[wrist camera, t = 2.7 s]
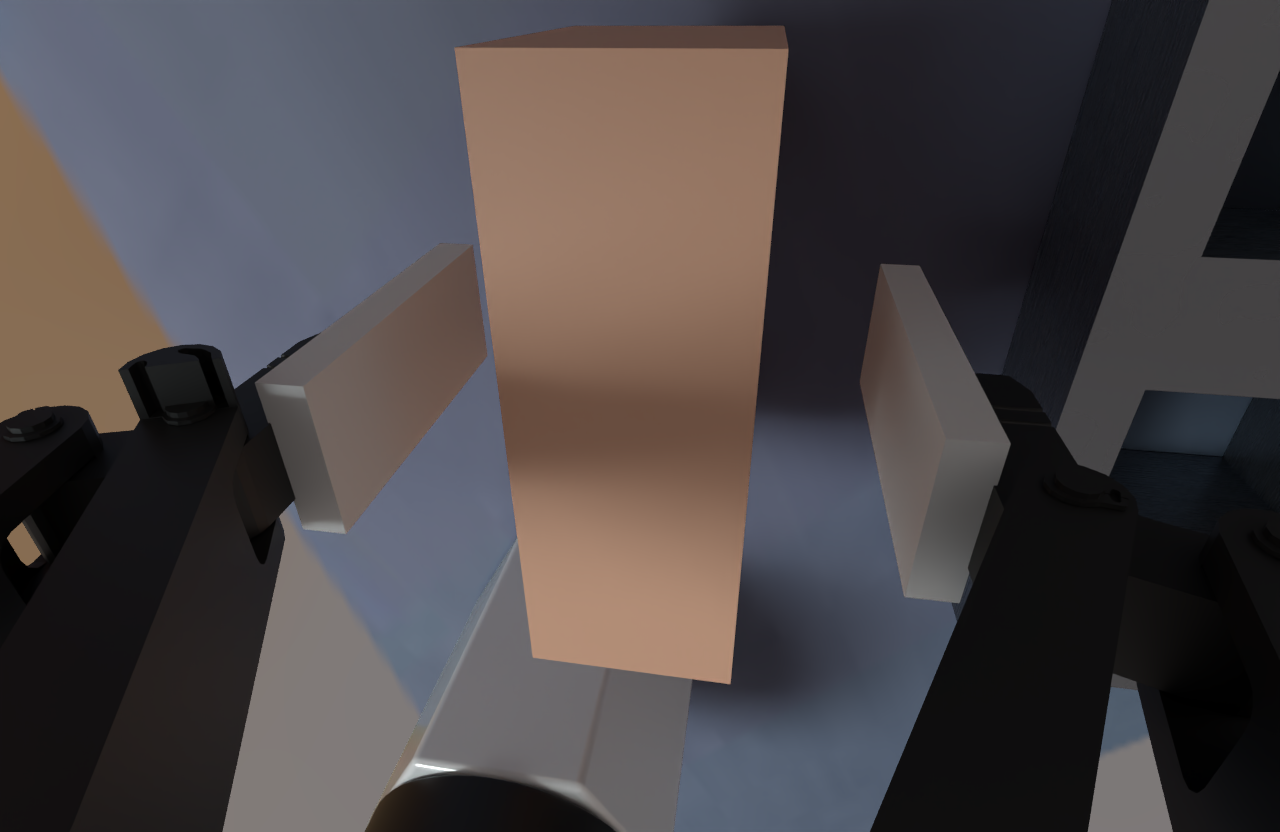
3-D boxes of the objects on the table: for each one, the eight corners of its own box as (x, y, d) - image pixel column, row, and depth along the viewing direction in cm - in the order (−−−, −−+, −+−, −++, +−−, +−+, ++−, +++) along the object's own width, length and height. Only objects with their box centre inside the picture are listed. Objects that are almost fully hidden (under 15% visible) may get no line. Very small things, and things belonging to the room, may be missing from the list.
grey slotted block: (1212, -338, 12) (1372, -459, 9) (1758, -375, 11) (2173, -529, 8) (943, 573, 24) (970, 669, 21) (1201, 601, 23) (1275, 707, 19)
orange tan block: (614, 18, 17) (454, 48, 9) (782, 18, 16) (788, 49, 8) (623, 409, 23) (532, 657, 14) (748, 419, 22) (730, 684, 14)
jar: (441, 560, 28) (248, 888, 18) (612, 494, 25) (497, 847, 14) (565, 701, 31) (462, 1045, 21) (729, 660, 28) (702, 1040, 18)
